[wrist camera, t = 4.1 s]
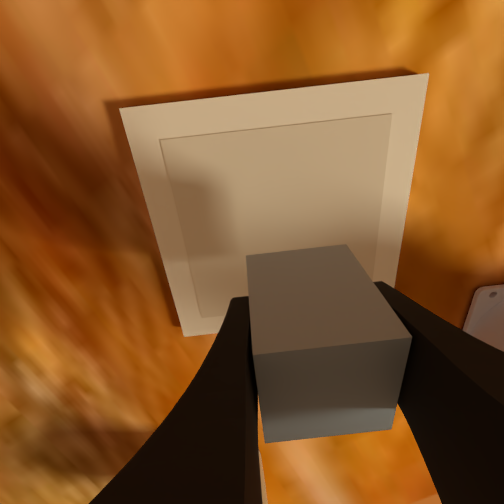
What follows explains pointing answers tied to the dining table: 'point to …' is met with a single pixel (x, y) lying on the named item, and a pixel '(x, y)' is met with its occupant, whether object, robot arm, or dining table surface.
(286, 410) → the block
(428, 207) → the dining table surface
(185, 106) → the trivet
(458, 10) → the dining table surface
